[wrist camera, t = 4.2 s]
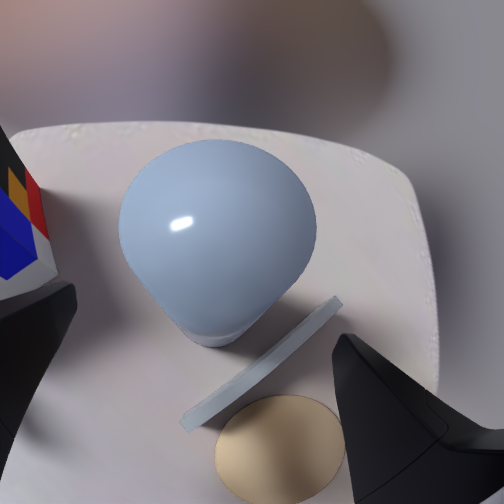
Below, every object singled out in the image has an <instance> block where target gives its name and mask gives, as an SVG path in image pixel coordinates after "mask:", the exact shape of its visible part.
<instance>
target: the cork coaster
mask: <svg viewBox="0 0 504 504" xmlns="http://www.w3.org/2000/svg"><path fill="white" fill-rule="evenodd" d="M344 451H345V441H344V436H343V431H342V427H341V424H340V423H339V421H338V419H337V418H336V417H335V415H334V414H333V413H332V412H331V411H330V410H329V409H328V408H327V407H325V406H324V405H322V404H321V403H319V402H317V401H315V400H312V399H309V398H306V397H301V396H296V395H278V396H271V397H267V398H263V399H261V400H258V401H255V402H253V403H251V404H249V405H247V406H246V407H244V408H243V409H241V410H240V411H239V412H237V413H236V414H235V415H234V416H233V417H232V418H231V419H230V420H229V421H228V422H227V424H226V425H225V426H224V428H223V429H222V431H221V433H220V435H219V437H218V440H217V443H216V448H215V464H216V469H217V472H218V475H219V477H220V479H221V481H222V483H223V484H224V485H225V487H226V488H227V489H228V490H229V491H230V492H231V493H232V494H234V495H235V496H237V497H238V498H240V499H242V500H243V501H246V502H248V503H251V504H296V503H299V502H302V501H304V500H306V499H308V498H310V497H312V496H313V495H315V494H317V493H318V492H319V491H321V490H322V489H323V488H324V487H325V486H326V485H327V484H328V483H329V482H330V481H331V480H332V479H333V477H334V476H335V474H336V473H337V471H338V469H339V467H340V465H341V462H342V460H343V456H344Z"/></svg>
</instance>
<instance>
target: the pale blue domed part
mask: <svg viewBox="0 0 504 504" xmlns="http://www.w3.org/2000/svg"><path fill="white" fill-rule="evenodd" d="M316 228H317V226H316V216H315V211H314V207H313V204H312V201H311V199H310V196H309V194H308V192H307V190H306V188H305V187H304V185H303V183H302V182H301V181H300V179H299V178H298V177H297V175H296V174H295V173H294V172H293V171H292V170H291V169H290V168H289V167H288V166H287V165H285V164H284V163H283V162H282V161H280V160H279V159H278V158H276V157H275V156H273V155H271V154H270V153H268V152H266V151H264V150H262V149H259V148H257V147H255V146H252V145H248V144H245V143H241V142H236V141H230V140H203V141H196V142H192V143H187V144H184V145H181V146H178V147H175V148H173V149H171V150H169V151H167V152H165V153H163V154H162V155H160V156H158V157H157V158H155V159H154V160H153V161H151V162H150V163H149V164H148V165H147V166H146V167H144V168H143V169H142V170H141V171H140V173H139V174H138V175H137V176H136V177H135V179H134V180H133V182H132V183H131V185H130V186H129V188H128V190H127V192H126V194H125V197H124V199H123V202H122V205H121V209H120V215H119V238H120V244H121V248H122V251H123V254H124V257H125V259H126V261H127V263H128V265H129V267H130V268H131V270H132V271H133V273H134V274H135V275H136V277H137V278H138V279H139V281H140V282H141V283H142V285H143V286H144V287H145V288H146V290H147V291H148V292H149V293H150V295H151V296H152V297H153V298H154V299H155V301H156V302H157V303H158V304H159V305H160V307H161V308H162V309H163V310H164V311H165V313H166V314H167V315H168V316H169V317H170V318H171V320H172V321H173V322H174V323H175V324H176V325H177V326H178V328H179V329H180V330H181V331H182V332H183V333H184V334H185V335H186V336H187V337H188V338H189V339H190V340H192V341H193V342H195V343H197V344H200V345H202V346H207V347H220V346H224V345H227V344H230V343H232V342H233V341H235V340H236V339H238V338H239V337H240V336H241V335H242V334H243V333H244V332H245V331H246V330H247V329H248V328H249V327H250V326H251V325H252V324H254V323H255V322H256V321H257V320H258V319H259V318H260V317H261V316H262V315H263V314H264V313H265V312H266V311H267V310H268V309H269V308H270V307H271V306H272V305H273V304H274V303H275V302H276V301H277V300H278V299H279V298H280V297H281V296H282V295H283V294H284V293H285V292H286V291H287V290H288V289H289V288H290V287H291V286H292V285H293V284H294V283H295V282H296V280H297V279H298V278H299V277H300V275H301V274H302V273H303V271H304V269H305V268H306V266H307V264H308V262H309V260H310V258H311V255H312V252H313V250H314V245H315V240H316Z"/></svg>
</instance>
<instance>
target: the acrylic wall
mask: <svg viewBox="0 0 504 504" xmlns="http://www.w3.org/2000/svg"><path fill="white" fill-rule="evenodd" d="M342 306H343V304H342V303H341V302H340V300H339V299H338V298H337V297H336V296H334V297H332V298H331V299H329V300H328V301H326V302H324V303H323V304H321V305H320V306H318V307H317V308H316V309H315V310H314V311H313V312H312V313H310V314H309V315H308V316H307V317H306V318H305V319H304V320H303V321H302V322H300V323H299V324H298V325H297V326H296V327H295V328H294V329H293V330H291V331H290V332H289V333H288V334H287V335H286V336H284V337H283V338H282V339H281V340H280V341H279V342H277V343H276V344H275V345H274V346H273V347H271V348H270V349H269V350H268V351H267V352H265V353H264V354H263V355H262V356H261V357H259V358H258V359H257V360H256V361H254V362H253V363H252V364H251V365H249V366H248V367H247V368H246V369H244V370H243V371H242V372H241V373H239V374H238V375H237V376H235V377H234V378H233V379H232V380H230V381H229V382H228V383H226V384H225V385H224V386H222V387H221V388H220V389H218V390H217V391H216V392H214V393H213V394H212V395H210V396H209V397H207V398H206V399H205V400H203V401H202V402H200V403H199V404H198V405H196V406H195V407H193V408H192V409H191V410H189V411H188V412H186V413H185V414H184V415H183V417H182V418H181V420H180V422H179V423H180V424H181V426H182V427H183V428H184V429H185V430H186V431H187V432H188V433H190V432H191V431H193V430H194V429H196V428H197V427H199V426H200V425H202V424H203V423H205V422H206V421H207V420H209V419H210V418H212V417H213V416H214V415H216V414H217V413H219V412H220V411H221V410H223V409H224V408H225V407H227V406H228V405H229V404H231V403H232V402H233V401H235V400H236V399H237V398H239V397H240V396H241V395H243V394H244V393H245V392H246V391H248V390H249V389H250V388H251V387H253V386H254V385H255V384H256V383H258V382H259V381H260V380H261V379H263V378H264V377H265V376H266V375H268V374H269V373H270V372H271V371H272V370H273V369H275V368H276V367H277V366H278V365H279V364H281V363H282V362H283V361H284V360H285V359H286V358H287V357H289V356H290V355H291V354H292V353H293V352H294V351H295V350H297V349H298V348H299V347H300V346H301V345H302V344H303V343H304V342H305V341H306V340H308V339H309V338H310V337H311V336H312V335H313V334H314V333H315V332H316V331H317V330H318V329H319V328H320V327H321V326H323V325H324V324H325V323H326V322H327V321H328V320H329V319H330V318H331V317H332V316H333V315H334V314H335V313H336V312H337V311H338V310H339V309H340V308H341V307H342Z"/></svg>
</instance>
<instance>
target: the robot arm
mask: <svg viewBox="0 0 504 504" xmlns="http://www.w3.org/2000/svg"><path fill="white" fill-rule="evenodd" d="M76 310H77V298H76V291H75V286H74V284H73V283H70V282H66V281H62V282H58V283H55V284H52V285H48V286H45V287H42V288H39V289H35V290H32V291H29V292H26V293H22V294H19V295H16V296H13V297H10V298H7V299H3V300H0V480H1V477H2V474H3V470H4V467H5V464H6V461H7V458H8V455H9V453H10V450H11V447H12V444H13V442H14V438H15V436H16V434H17V431H18V429H19V426H20V424H21V422H22V419H23V417H24V415H25V413H26V410H27V408H28V406H29V404H30V402H31V400H32V397H33V395H34V393H35V391H36V389H37V387H38V385H39V383H40V381H41V379H42V377H43V376H44V374H45V372H46V370H47V368H48V366H49V364H50V362H51V361H52V359H53V357H54V355H55V353H56V352H57V350H58V348H59V346H60V344H61V342H62V340H63V338H64V336H65V334H66V332H67V329H68V327H69V325H70V323H71V321H72V319H73V317H74V315H75V313H76ZM332 364H333V374H334V385H335V394H336V400H337V405H338V410H339V415H340V420H341V425H342V431H343V436H344V441H345V447H346V452H347V458H348V464H349V470H350V476H351V483H352V489H353V496H354V503H355V504H504V429H497V430H494V429H487V428H484V427H482V426H480V425H478V424H477V423H475V422H473V421H472V420H470V419H469V418H467V417H465V416H464V415H462V414H461V413H459V412H457V411H456V410H455V409H453V408H452V407H450V406H449V405H447V404H445V403H444V402H443V401H441V400H440V399H439V398H437V397H436V396H434V395H433V394H432V393H431V392H429V391H428V390H425V388H424V387H423V386H421V385H420V384H419V383H417V382H416V381H415V380H413V379H412V378H411V377H409V376H408V375H407V374H406V373H404V372H403V371H402V370H400V369H399V368H398V367H396V366H395V365H394V364H392V363H391V362H390V361H389V360H387V359H386V358H385V357H383V356H382V355H381V354H379V353H378V352H377V351H375V350H374V349H373V348H372V347H370V346H369V345H368V344H366V343H365V342H364V341H362V340H361V339H360V338H358V337H357V336H356V335H355V334H351V333H343V334H341V335H340V337H339V339H338V341H337V344H336V346H335V348H334V350H333V353H332Z"/></svg>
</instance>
